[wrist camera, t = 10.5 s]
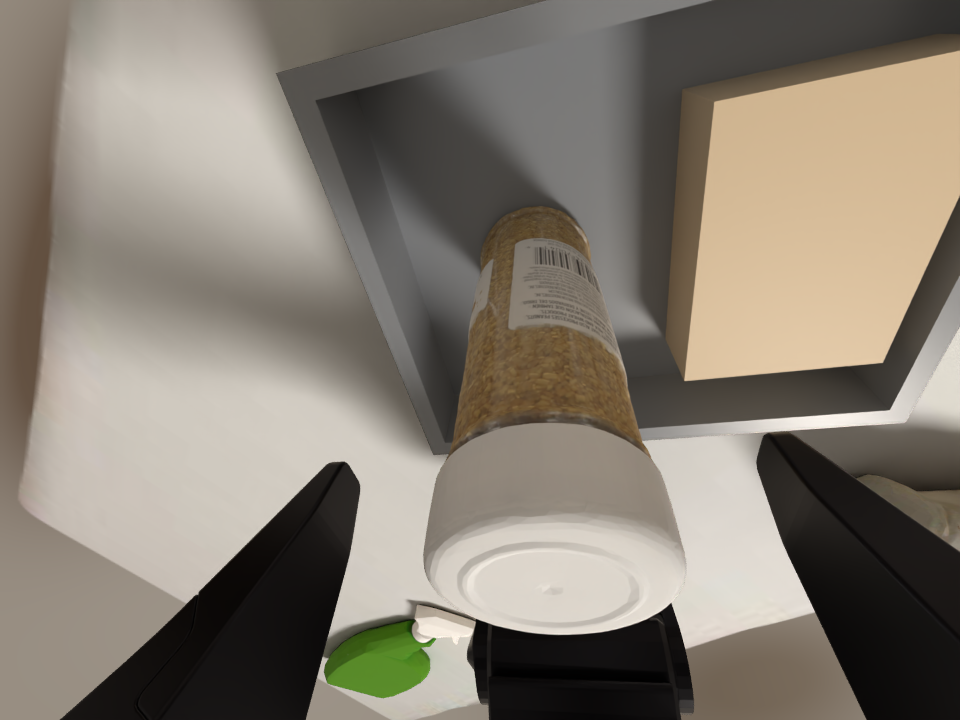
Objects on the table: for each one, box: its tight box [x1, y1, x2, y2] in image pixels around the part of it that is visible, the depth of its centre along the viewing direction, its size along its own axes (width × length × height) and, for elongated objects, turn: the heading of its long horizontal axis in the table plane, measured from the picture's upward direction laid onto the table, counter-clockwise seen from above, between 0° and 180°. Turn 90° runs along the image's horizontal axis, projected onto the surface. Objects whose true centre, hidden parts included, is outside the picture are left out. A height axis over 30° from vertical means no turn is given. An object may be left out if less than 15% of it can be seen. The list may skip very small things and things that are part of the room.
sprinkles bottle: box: [423, 206, 686, 635], centre depth 12 cm, size 5×5×13 cm
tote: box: [276, 0, 960, 455], centre depth 16 cm, size 16×20×4 cm
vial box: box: [665, 34, 960, 381], centre depth 15 cm, size 10×7×3 cm
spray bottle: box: [324, 605, 476, 698], centre depth 48 cm, size 3×11×25 cm
